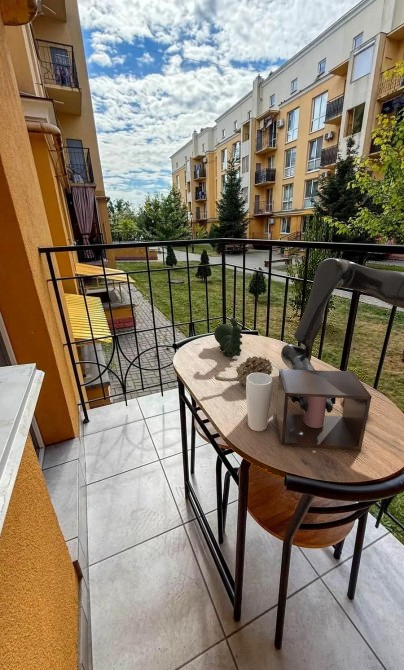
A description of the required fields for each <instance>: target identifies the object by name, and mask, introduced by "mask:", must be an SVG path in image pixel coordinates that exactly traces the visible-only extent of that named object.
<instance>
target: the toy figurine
mask: <svg viewBox="0 0 404 670" xmlns="http://www.w3.org/2000/svg"><path fill="white" fill-rule="evenodd" d="M230 324H231V325H229V324H227V323H222V324H220V323H219V324H218V326H217V327H216V328H215V330H214V332H213V335H214V340H215V341H216V342H217V343H218V344H219V351H220V352H223V356H226V357H228V358H232V356H234V355H235V356H236V357H241V353H242V348H241V346H242V345H243V344H244V343H243V341H242V340H241V339H243V334H241V333H242V332H243V330H242V329H241V327H240V326H238V324H239V323H238V320H237V319H236V318H235V317H232V318H230Z"/></svg>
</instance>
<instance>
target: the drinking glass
mask: <svg viewBox="0 0 404 670" xmlns="http://www.w3.org/2000/svg"><path fill="white" fill-rule="evenodd" d="M272 394H273V377H272V376H271V375H270V376H269V375H268V374H265V373H252V374H249V375H248V376H247V379H246V385H245V397H246V398H245V399H246V409H247V410H246V411H247V425H248V427H249V428H250V429H251V430H252V431H254V432H263V431H265V430H266V429H267V428H268V424H269V414H270V408H271V402H272V396H273V395H272Z"/></svg>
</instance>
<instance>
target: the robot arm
mask: <svg viewBox="0 0 404 670" xmlns="http://www.w3.org/2000/svg"><path fill="white" fill-rule="evenodd" d="M335 289H346V290H353V291H358V292H362V293H365V294H366V295H370V296H371V297H373V298H375V299H377V300H379V301H381V302H383V303H386V304H388V305H391V306H393V307H397V308H401V309H404V272H403V271H395V270H386V269H378V268H372V267H369V266H364V265H361V264H358V263H355V262H352V261H350V260H347V259H344V258H337V257H329V258H326V259H324V260H321V262H320V263H318V266H317V268H316V270H315V273H314V277H313V281H312V285H311V288H310V293H309V296H308V299H307V303H306V306H305V309H304V311H303V314H302V316H301V319H300V321H299V324H298V326H297V328H296V330H295V332H294V335H293V337H294V339H295V341H296V342H298V343H299V344H302V345H303V346H298V345H295V344H292V343H288V344H286V345H284V346H283V347H282V348H281V352H280V359H281V361H282V363H283V364H284V365H285V366H286V367H287V368H288V369H289V370H316V368H315V367H314V366H313V364H312V363H311V361H312V355H313V348H314V344H315V341H316V338H317V336H318V334H319V332H320V330H321V328H322V326H323V321H324V318H325V311H326V307H327V304H328V301H329V299H330V297H331V295H332V294H333V292H334V291H335ZM288 399H289V400H290V401H291V402H292V403H296V402H297V403H298V405H299V406H300V409H301V410H303V412H304V411H307V409H308V404H307V401H306V397H305V396H288ZM336 399H337V398H328V397H327V402H326V410H325V411H326V412H327V413H328V414H329V413H332V412H333V409H334V405H336Z"/></svg>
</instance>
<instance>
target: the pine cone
mask: <svg viewBox="0 0 404 670" xmlns="http://www.w3.org/2000/svg"><path fill="white" fill-rule="evenodd" d="M272 363H273V362H271V361H270V358H268V359H267V358H266V357H262V356H255V355H253V356H249V357H247V358H246V360H245V361H242V363H240V364H239V366H236V370H235V372H236V374H237V376H236V377H223V376H218V375H213V377H214V379H215V380H216V381H219V382H229V383H230V382H239V383H241V384H242V385H243V386H246V379H247V376H248V375H249V374H252V373H265V374H268V375H269V376H271V374H272V372H273V365H272Z"/></svg>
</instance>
